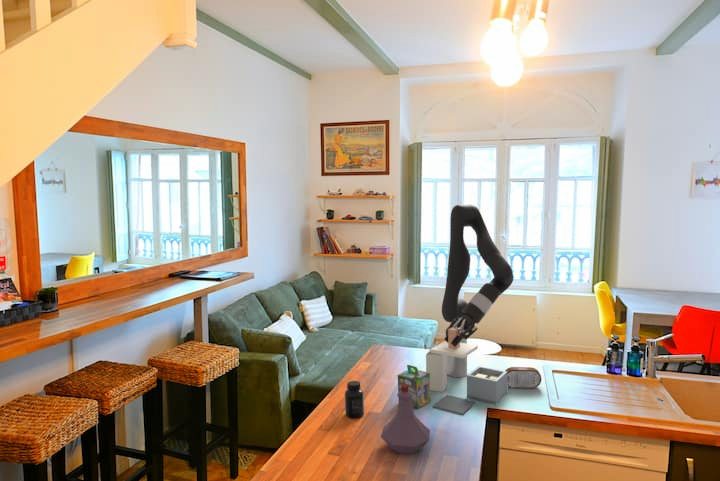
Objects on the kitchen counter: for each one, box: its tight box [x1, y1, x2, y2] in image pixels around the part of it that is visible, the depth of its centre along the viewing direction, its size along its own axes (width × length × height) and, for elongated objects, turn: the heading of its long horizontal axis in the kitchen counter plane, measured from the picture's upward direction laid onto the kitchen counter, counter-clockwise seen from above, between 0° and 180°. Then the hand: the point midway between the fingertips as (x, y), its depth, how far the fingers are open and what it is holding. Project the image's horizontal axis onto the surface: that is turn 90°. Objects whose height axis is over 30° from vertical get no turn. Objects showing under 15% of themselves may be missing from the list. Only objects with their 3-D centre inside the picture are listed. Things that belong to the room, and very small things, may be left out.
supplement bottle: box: [344, 380, 365, 419], centre depth 176 cm, size 7×7×12 cm
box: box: [466, 365, 508, 405], centre depth 190 cm, size 12×12×9 cm
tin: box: [504, 366, 542, 390], centre depth 197 cm, size 15×3×8 cm, turn 84°
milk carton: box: [425, 340, 448, 393], centre depth 198 cm, size 7×7×19 cm
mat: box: [432, 394, 477, 416], centre depth 183 cm, size 12×12×1 cm
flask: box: [380, 384, 431, 455], centre depth 153 cm, size 16×16×20 cm
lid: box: [430, 328, 479, 358], centre depth 181 cm, size 13×13×8 cm
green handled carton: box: [397, 364, 431, 410], centre depth 186 cm, size 9×9×15 cm
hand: (449, 343), depth 180 cm, fingers closed on lid, 4 cm apart
